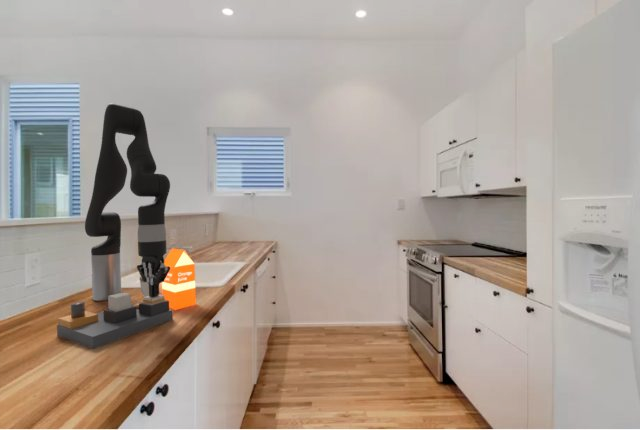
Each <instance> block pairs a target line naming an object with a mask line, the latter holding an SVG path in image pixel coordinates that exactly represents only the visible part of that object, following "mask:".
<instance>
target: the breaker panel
mask: <svg viewBox="0 0 640 430" xmlns="http://www.w3.org/2000/svg"><path fill="white" fill-rule="evenodd" d="M97 314H98V321H95V322H92V323H88V324H85V325H82V326H78V327H75V328H72V329H69V328H66V327H63V326H60V325H58V324H56V335H57V337H59V338H62V339H64V340H68V341H71V342H74V343H76V344H78V345H82V346H85V347H86V348H87V347H88V348H90V349H92V350H95V349H97V348H100V347H102V346H106V345H108V344H110V343H111V344H112V343H113V342H115V341H118V340H121V339H124V338H127V337H129V336H132V335H134V334H137V333H141V332H143V331H146V330H148V329H151V328H153V327H156V326H159V325H162V324H164V323H167V322H170V321H172V320H173V309H171V308H169V301H168V300H164V302H161V303H158V304H154V305H148V304H144V302H143V301H142V302H134V303H131V308H128V309H125V310H121V311H118V312H114V311H110V310H109V307H107V308H104V309H103V311H102V312H97Z"/></svg>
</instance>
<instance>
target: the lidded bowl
mask: <svg viewBox="0 0 640 430" xmlns="http://www.w3.org/2000/svg"><path fill="white" fill-rule="evenodd" d="M139 281H140V283H139V285H140V291H141V293H142V295H143V297H147V296H149V285H148V284H147V282H144V281H143V279H142V277H141V275H140V276H139ZM159 295H162V282H161V283H159Z"/></svg>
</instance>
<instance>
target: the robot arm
mask: <svg viewBox="0 0 640 430" xmlns="http://www.w3.org/2000/svg"><path fill="white" fill-rule="evenodd" d="M116 134H122V135H123V134H124V135H129V136H134V139H133V140H132V141H131V142H130V143H129V145H128V147H127V149H126V158H127V161H128V164H129V167H130V175H131V176H130V182H129V189H130V190H131V192H132V193H133V195H135V196H137V197H140V198H141V197H143V198H144V197H149V198H151V197H152V198H154V200H153V201H152V203H147V204H143V205H140V206H139V207H138V209H137V218H138V220H137V222H138V228H137V252H138V253H137V254H138V256H139V257H141V263H140V264H138V265H136V269H137V270H138V272H139V275H140V276H141V277H142V279H143V281H144V282H147V284H148V285H149V296H150V297H156V296H159V283H161V282H164V280H165V278H166V276H167V274H168V272H169V270H170V267H169V266H168V267H166V266H165V264H164V261H165V258H164V255H167V231H166V223H165V222H166V221H165V210H166V204H167V199H168V196H169V193H170V189H171V182H170V179H169V177H168V176H167V175H166V174H162V173H156V171H157V165H156V161H155V159H154V155H153V154H152V152H151V149H150V145H149V138H148V131H147V126H146V121H145V117H144V115H143V113H142V111H141V110H138V109H136V108H134V107H128V106H126V105H121V104H116V103H111V102H110V103H109V104H108V105H106V108H105V112H104V115H103V123H102V134H101V144H100V151H99V156H98V160H97V166H96V169H95V176H94V182H93V183H94V184H93V189H92V195H91V199H90V203H89V207H88V211H87V213H86V216H85V223H84V231H85V234H86V235H87V236H88V237H90V238H93V237H94V238H101V237H107V238H106V239H105V241H103V242H101V243H99V244H96V245H94V246H92V247H91V252H90V253H91V258H90V259H91V288H92V289H91V291H92V292H91V293H92V300H93V301H98V302H99V301H100V302H101V301H108V296H110V295H114V294H118V293H122V272H121V271H122V270H121V269H122V267H121V246H122V245H121V242H122V241H121V240H122V239H121V236H122V235H121V234H122V233H121V232H122V221H121V217H120V215H119V213H118V212H113V211H112V212H111V211H110V212H103V211H104V210H105V207H106V206H107V204H109V202H110V201H112V200H113V199H114V198H115V197H116V196H117V195H118V194H119V193H120V192H121V191H122V190H123V189H124V187H125V184H126V179H127V175H128V166H127V164H126V161H125V160H124V159H123V156H122V155H121V153H120V150H119V149H118V146H117V142H116V141H117V140H116V136H117V135H116Z"/></svg>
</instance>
